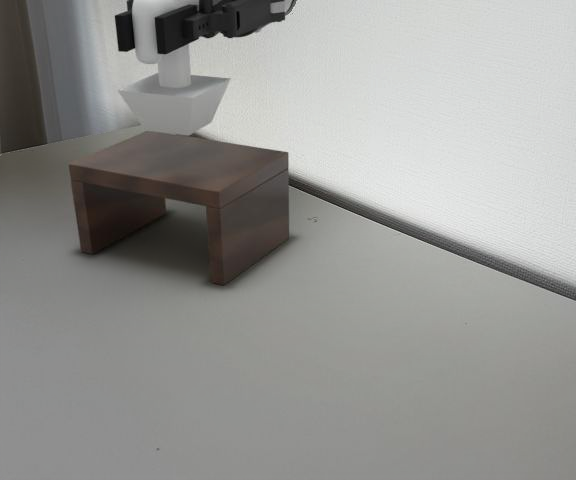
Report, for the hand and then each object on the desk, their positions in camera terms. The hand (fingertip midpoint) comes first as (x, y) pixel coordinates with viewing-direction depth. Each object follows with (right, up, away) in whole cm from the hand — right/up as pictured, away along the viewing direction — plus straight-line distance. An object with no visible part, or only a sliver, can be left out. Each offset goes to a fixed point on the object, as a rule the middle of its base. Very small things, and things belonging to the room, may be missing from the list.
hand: (140, 34), depth 69 cm
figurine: (+2, -5, +9) cm, 10 cm away
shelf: (+2, -14, +15) cm, 21 cm away
